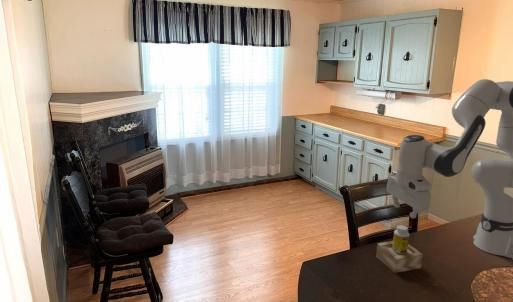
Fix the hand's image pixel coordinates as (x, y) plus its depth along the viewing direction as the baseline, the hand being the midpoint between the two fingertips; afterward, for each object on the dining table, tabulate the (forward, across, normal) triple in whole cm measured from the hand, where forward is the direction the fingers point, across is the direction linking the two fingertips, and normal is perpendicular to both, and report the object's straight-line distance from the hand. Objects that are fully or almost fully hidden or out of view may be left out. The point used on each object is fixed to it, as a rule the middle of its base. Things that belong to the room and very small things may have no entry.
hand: (404, 211), depth 136 cm
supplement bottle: (+17, 0, 0) cm, 17 cm away
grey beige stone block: (+22, +1, 0) cm, 22 cm away
